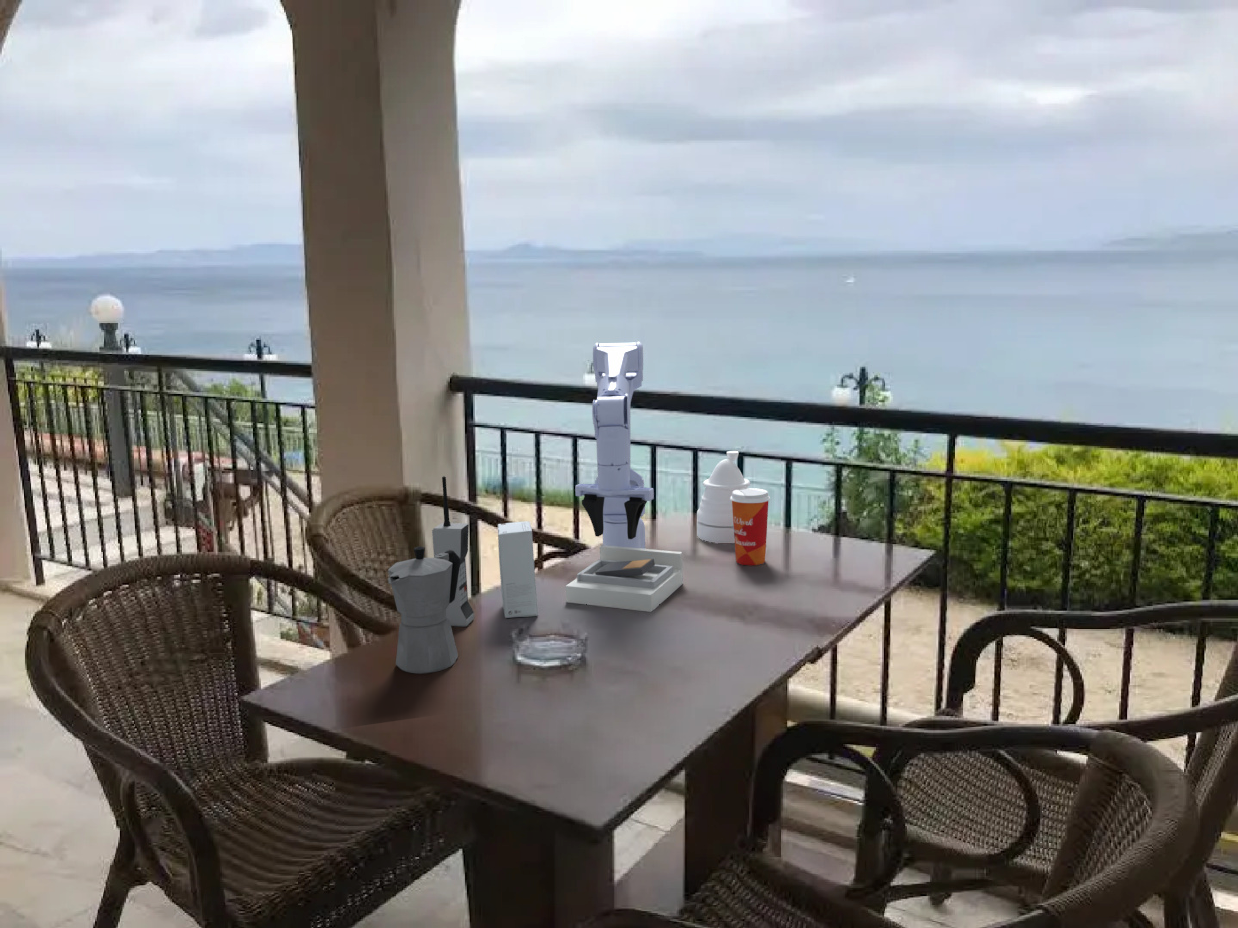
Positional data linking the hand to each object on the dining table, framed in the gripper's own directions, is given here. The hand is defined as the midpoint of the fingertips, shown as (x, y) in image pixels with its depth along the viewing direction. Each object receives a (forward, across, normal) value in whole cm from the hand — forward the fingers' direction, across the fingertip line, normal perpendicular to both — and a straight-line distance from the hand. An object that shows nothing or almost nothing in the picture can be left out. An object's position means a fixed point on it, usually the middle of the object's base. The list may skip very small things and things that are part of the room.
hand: (615, 536), depth 182 cm
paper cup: (+10, +19, +22) cm, 31 cm away
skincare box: (+10, -11, -17) cm, 22 cm away
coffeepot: (+10, -13, -41) cm, 44 cm away
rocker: (+5, +3, -3) cm, 6 cm away
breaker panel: (+9, +3, -3) cm, 10 cm away
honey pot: (+10, +9, +39) cm, 41 cm away
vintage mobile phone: (+10, -18, -26) cm, 33 cm away
